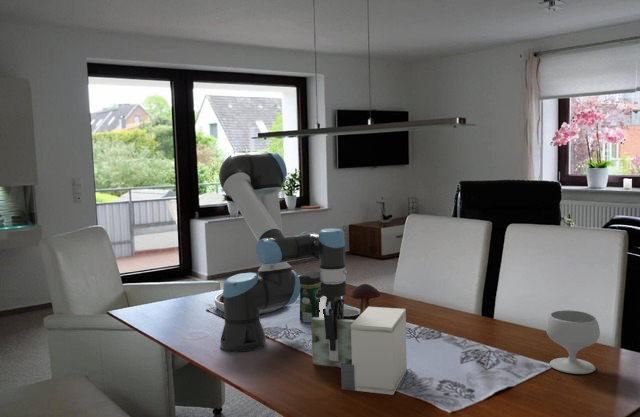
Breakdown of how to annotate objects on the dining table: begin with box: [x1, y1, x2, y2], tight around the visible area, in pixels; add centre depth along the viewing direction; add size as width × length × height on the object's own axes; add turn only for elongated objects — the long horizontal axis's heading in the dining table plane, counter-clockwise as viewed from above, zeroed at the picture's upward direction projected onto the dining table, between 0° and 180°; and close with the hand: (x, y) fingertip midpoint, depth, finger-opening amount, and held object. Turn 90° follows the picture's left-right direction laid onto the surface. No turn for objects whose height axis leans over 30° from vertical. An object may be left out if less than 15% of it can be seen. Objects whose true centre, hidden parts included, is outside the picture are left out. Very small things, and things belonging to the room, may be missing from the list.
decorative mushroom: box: [350, 283, 381, 315], centre depth 211 cm, size 11×11×15 cm
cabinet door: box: [310, 317, 355, 368], centre depth 171 cm, size 14×3×14 cm, turn 70°
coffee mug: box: [343, 308, 360, 320], centre depth 194 cm, size 12×9×10 cm
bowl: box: [214, 292, 282, 315], centre depth 241 cm, size 30×30×8 cm
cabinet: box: [351, 306, 408, 396], centre depth 160 cm, size 11×18×18 cm, turn 160°
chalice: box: [545, 309, 601, 375], centre depth 164 cm, size 14×14×15 cm
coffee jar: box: [298, 271, 324, 325], centre depth 217 cm, size 10×8×19 cm
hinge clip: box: [340, 358, 356, 392], centre depth 156 cm, size 4×6×9 cm
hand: (335, 358), depth 172 cm, fingers closed on cabinet door, 2 cm apart
